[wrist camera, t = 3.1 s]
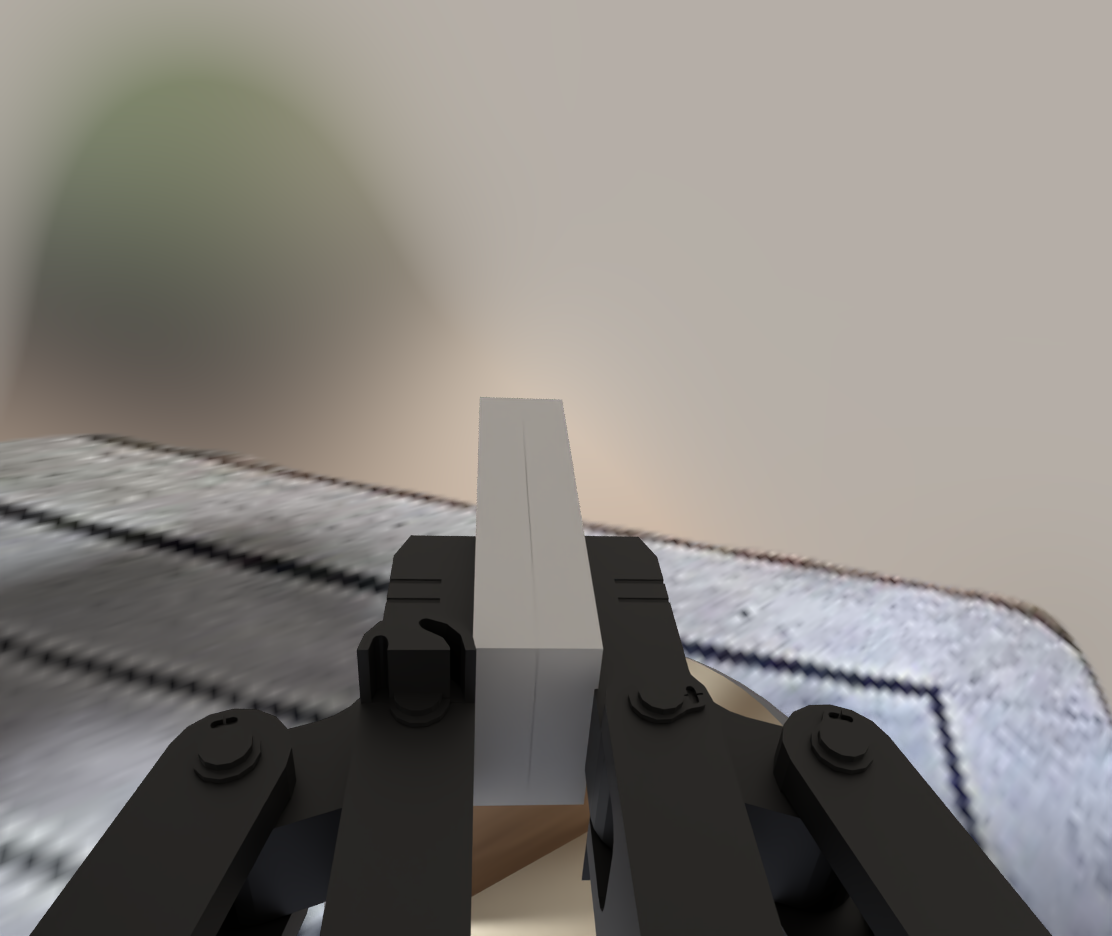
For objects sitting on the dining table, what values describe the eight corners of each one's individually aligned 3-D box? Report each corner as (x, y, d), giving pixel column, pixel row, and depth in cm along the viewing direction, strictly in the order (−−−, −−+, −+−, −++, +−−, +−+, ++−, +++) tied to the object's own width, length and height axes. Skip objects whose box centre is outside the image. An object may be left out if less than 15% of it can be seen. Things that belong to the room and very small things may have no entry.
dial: (319, 750, 37) (295, 536, 31) (638, 617, 46) (667, 433, 40) (541, 1180, 24) (572, 958, 18) (919, 879, 33) (1021, 667, 27)
